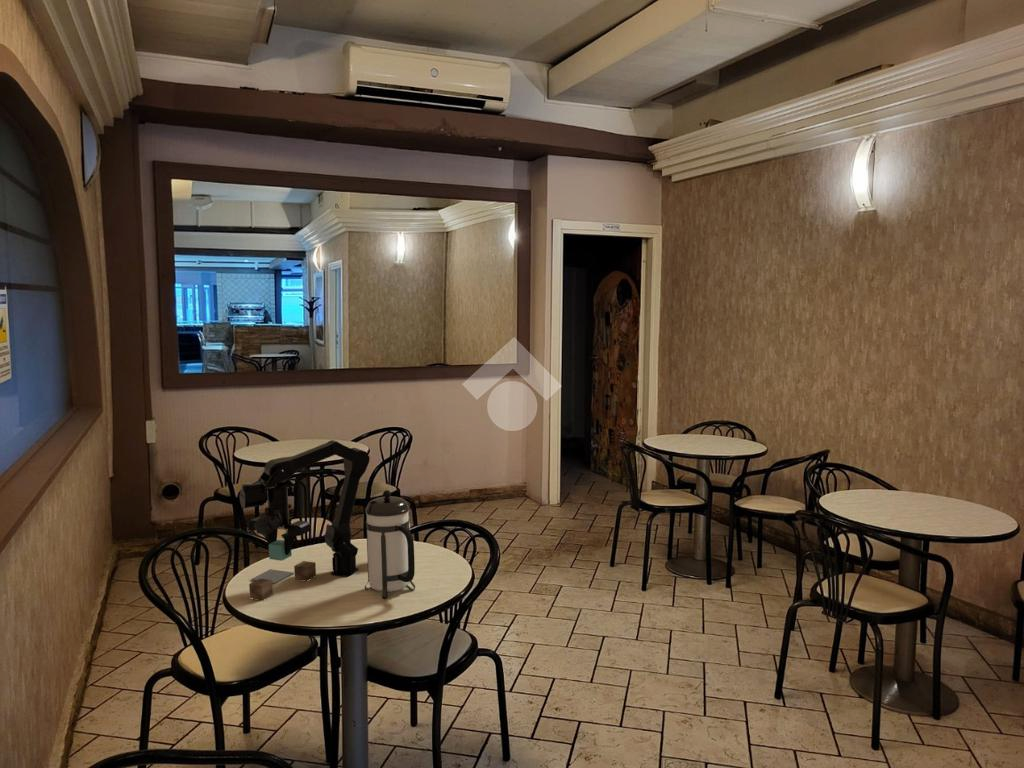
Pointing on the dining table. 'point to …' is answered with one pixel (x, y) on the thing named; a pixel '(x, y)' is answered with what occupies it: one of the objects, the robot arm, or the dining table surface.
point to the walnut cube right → (305, 570)
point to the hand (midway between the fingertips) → (280, 553)
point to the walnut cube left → (261, 589)
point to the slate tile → (273, 575)
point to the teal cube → (278, 550)
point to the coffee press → (389, 544)
